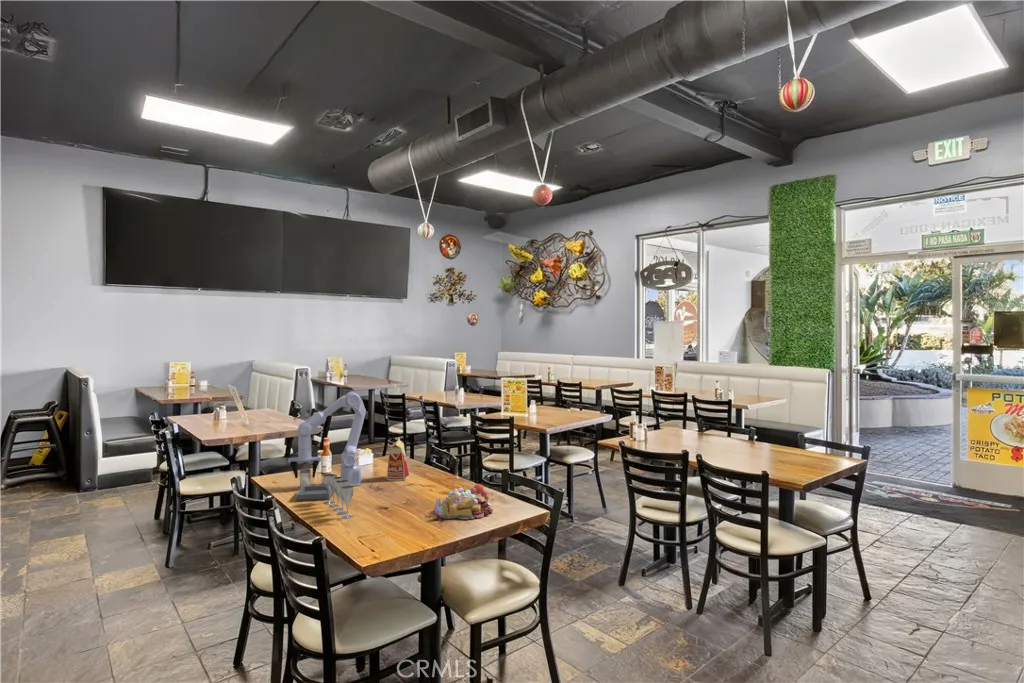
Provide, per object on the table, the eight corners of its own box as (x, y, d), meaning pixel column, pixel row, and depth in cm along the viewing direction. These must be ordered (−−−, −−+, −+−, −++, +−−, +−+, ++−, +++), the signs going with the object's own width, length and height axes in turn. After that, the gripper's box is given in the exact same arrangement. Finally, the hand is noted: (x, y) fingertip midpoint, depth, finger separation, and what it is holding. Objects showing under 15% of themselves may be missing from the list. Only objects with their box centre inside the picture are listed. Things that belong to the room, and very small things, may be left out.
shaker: (311, 487, 257) (311, 468, 257) (309, 490, 252) (309, 470, 252) (301, 487, 256) (301, 468, 256) (299, 490, 251) (298, 471, 251)
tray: (334, 490, 250) (334, 484, 250) (329, 499, 237) (329, 493, 237) (302, 492, 248) (302, 485, 248) (296, 501, 234) (295, 494, 234)
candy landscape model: (496, 519, 211) (496, 496, 211) (435, 523, 207) (435, 499, 207) (488, 500, 236) (488, 479, 236) (433, 503, 232) (433, 481, 232)
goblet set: (356, 517, 214) (356, 483, 214) (342, 520, 211) (341, 486, 210) (334, 500, 237) (333, 469, 236) (320, 502, 233) (320, 471, 233)
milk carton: (392, 476, 276) (392, 436, 276) (409, 476, 275) (409, 437, 275) (385, 480, 267) (385, 440, 267) (403, 481, 266) (403, 440, 266)
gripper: (322, 446, 259) (322, 474, 259) (290, 447, 256) (290, 476, 257) (320, 449, 252) (320, 478, 252) (286, 450, 250) (287, 479, 250)
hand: (305, 477), depth 254 cm, fingers open, 7 cm apart
